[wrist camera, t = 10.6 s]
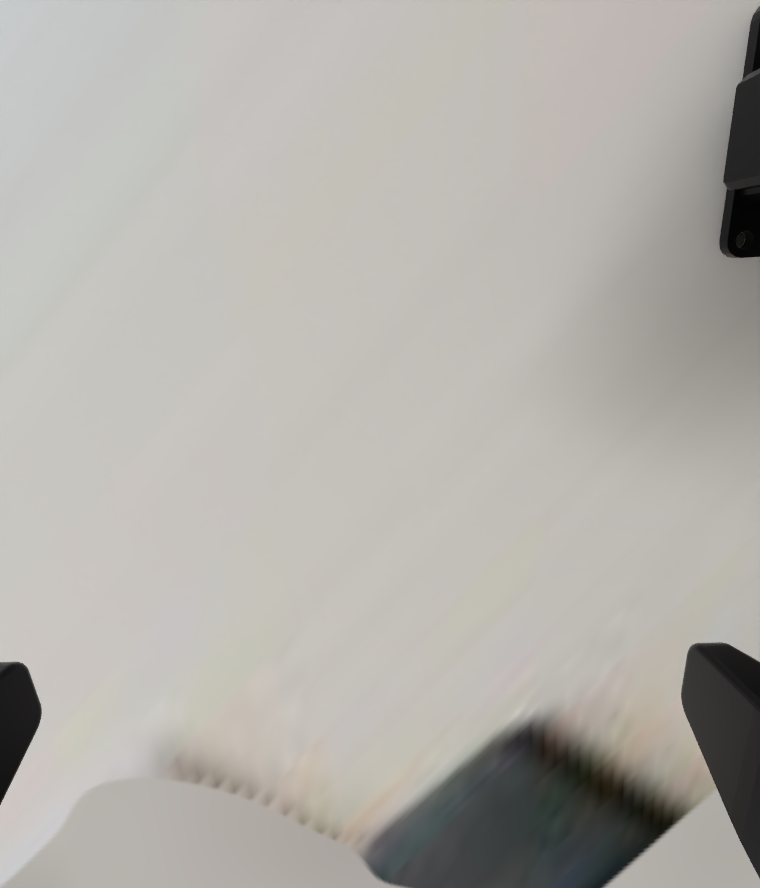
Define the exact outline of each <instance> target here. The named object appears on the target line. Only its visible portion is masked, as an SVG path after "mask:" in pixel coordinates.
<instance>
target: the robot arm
mask: <svg viewBox="0 0 760 888" xmlns="http://www.w3.org/2000/svg"><path fill="white" fill-rule="evenodd" d="M724 183H725V185H726V187H727V193H726V200H725V207H724V214H723V221H722V228H721V235H720V249H721V251H722V253H723V254H724V255H726V256H727V257H732V258H745V257H760V6H759V7H758V9H757V10H756V12H755V13H754V15H753V18H752V21H751V25H750V32H749V39H748V46H747V53H746V60H745V67H744V74H743V80H742V81H741V82H740V83H739V84H738V86H737V88H736V94H735V101H734V108H733V116H732V123H731V130H730V137H729V144H728V151H727V158H726V166H725V173H724ZM741 232H742V233H743V234H744V235H745V242H744V244H743V245H742V246H741V247H740V248H738V247H737V245H736V238H737V236H738V235H739V234H740V233H741ZM681 698H682V705H683V708H684V712H685V714H686V717H687V719H688V721H689V724H690V726H691V728H692V731H693V733H694V735H695V738H696V740H697V742H698V745H699V747H700V749H701V752H702V754H703V756H704V759H705V761H706V763H707V766H708V768H709V770H710V773H711V775H712V777H713V780H714V782H715V784H716V787H717V789H718V791H719V794H720V796H721V798H722V801H723V803H724V805H725V808H726V810H727V812H728V815H729V817H730V819H731V822H732V824H733V826H734V828H735V830H736V833H737V835H738V837H739V839H740V841H741V843H742V845H743V847H744V849H745V851H746V853H747V855H748V857H749V859H750V861H751V863H752V864H753V867H754V868H755V870H756V872H757V874H758V876H759V878H760V662H759V661H757V660H755V659H754V658H752V657H750V656H748V655H747V654H745V653H743V652H741V651H740V650H738V649H736V648H734V647H733V646H731V645H729V644H726V643H696V644H694V645H692V646H691V647H690V648H689V650H688V654H687V660H686V666H685V672H684V678H683V684H682V691H681ZM41 714H42V710H41V704H40V701H39V698H38V695H37V693H36V690H35V687H34V684H33V681H32V678H31V676H30V673H29V670H28V668H27V667H26V666H25V665H24V664H23V663H20V662H0V805H1V802H2V800H3V798H4V796H5V794H6V792H7V790H8V788H9V786H10V784H11V782H12V780H13V778H14V776H15V774H16V772H17V770H18V768H19V766H20V763H21V761H22V759H23V757H24V755H25V753H26V751H27V749H28V747H29V745H30V743H31V741H32V739H33V737H34V735H35V733H36V731H37V729H38V726H39V723H40V720H41Z"/></svg>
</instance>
